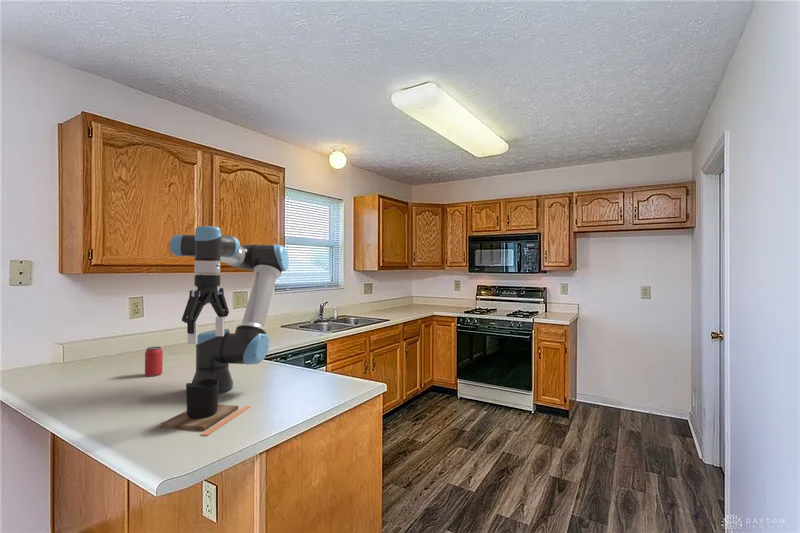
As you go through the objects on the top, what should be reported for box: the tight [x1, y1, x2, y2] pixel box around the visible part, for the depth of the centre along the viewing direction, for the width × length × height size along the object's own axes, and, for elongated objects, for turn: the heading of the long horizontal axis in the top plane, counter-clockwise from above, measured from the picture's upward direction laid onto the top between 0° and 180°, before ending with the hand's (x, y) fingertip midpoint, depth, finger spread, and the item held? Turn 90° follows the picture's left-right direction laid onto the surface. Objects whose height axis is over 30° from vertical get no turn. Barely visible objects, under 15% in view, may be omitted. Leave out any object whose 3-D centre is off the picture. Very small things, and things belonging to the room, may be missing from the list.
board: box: [161, 403, 239, 432], centre depth 125 cm, size 14×18×1 cm
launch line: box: [200, 405, 252, 437], centre depth 124 cm, size 2×24×1 cm, turn 171°
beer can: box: [144, 346, 164, 377], centre depth 174 cm, size 7×7×12 cm
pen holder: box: [185, 379, 219, 419], centre depth 125 cm, size 9×9×10 cm
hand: (206, 339), depth 127 cm, fingers open, 13 cm apart
